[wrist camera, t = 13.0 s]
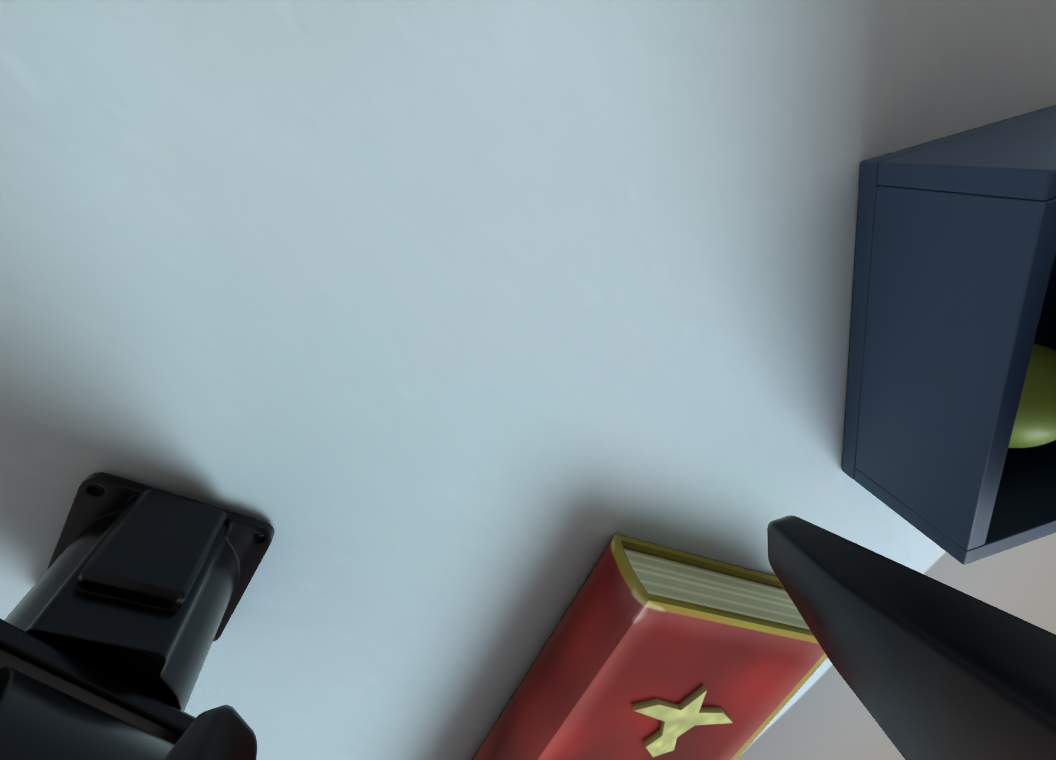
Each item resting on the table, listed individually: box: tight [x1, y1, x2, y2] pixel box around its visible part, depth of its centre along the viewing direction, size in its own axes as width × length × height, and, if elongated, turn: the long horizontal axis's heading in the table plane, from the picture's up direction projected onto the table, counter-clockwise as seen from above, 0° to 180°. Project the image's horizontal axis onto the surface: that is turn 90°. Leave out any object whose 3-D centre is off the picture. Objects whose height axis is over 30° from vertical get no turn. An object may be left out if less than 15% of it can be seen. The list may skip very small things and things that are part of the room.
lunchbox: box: [842, 106, 1056, 564], centre depth 20 cm, size 10×15×6 cm
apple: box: [1008, 344, 1056, 448], centre depth 21 cm, size 4×4×4 cm
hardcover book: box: [473, 534, 827, 760], centre depth 27 cm, size 12×21×4 cm, turn 154°
